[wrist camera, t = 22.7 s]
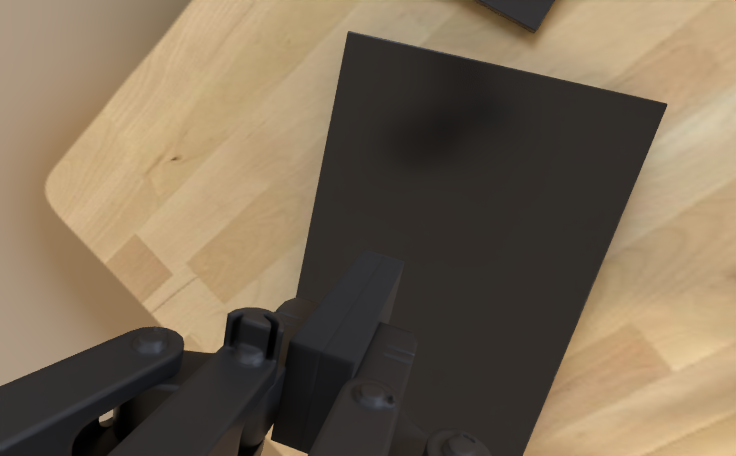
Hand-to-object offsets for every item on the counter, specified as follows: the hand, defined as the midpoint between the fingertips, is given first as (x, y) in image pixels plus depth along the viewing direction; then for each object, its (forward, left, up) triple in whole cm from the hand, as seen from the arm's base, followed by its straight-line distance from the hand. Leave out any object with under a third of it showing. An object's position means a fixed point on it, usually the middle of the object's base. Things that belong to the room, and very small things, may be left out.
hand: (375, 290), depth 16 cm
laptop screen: (+6, +3, -20) cm, 21 cm away
